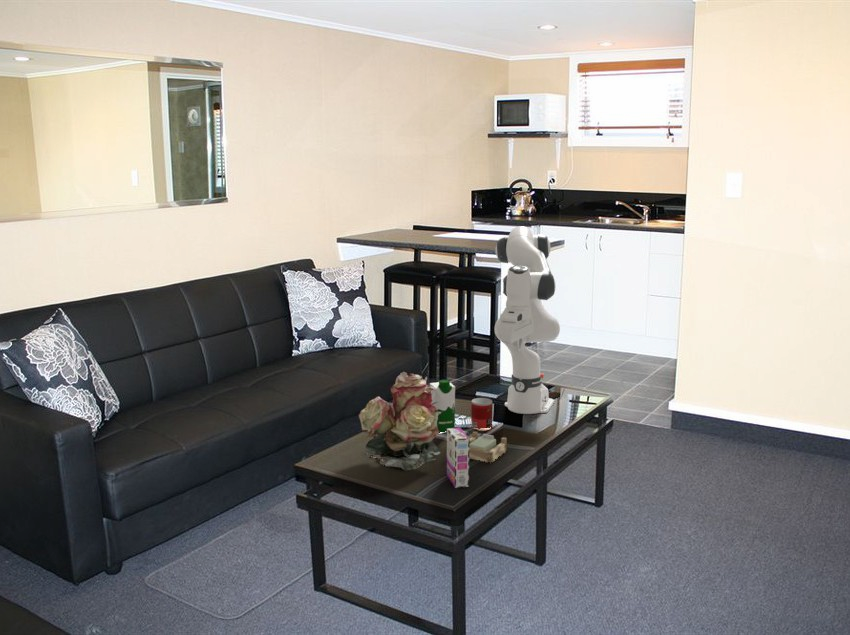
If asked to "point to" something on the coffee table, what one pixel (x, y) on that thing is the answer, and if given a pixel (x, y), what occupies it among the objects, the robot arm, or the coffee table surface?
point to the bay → (487, 455)
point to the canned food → (481, 413)
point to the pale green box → (484, 442)
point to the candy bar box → (458, 457)
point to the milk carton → (444, 404)
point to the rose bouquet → (403, 423)
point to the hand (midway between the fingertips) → (517, 350)
